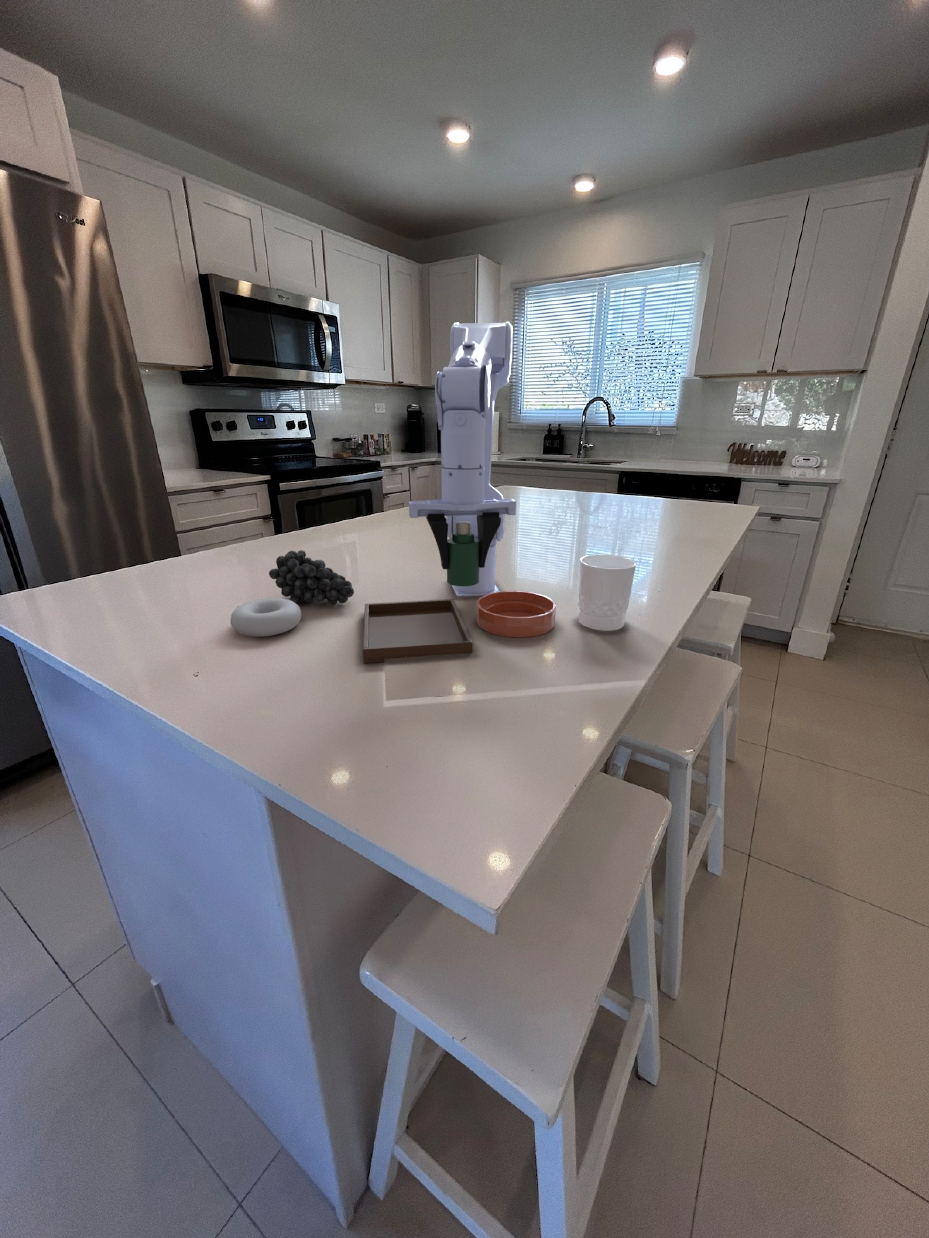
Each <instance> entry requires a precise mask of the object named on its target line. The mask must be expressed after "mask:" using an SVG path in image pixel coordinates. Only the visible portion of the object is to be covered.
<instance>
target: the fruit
mask: <svg viewBox="0 0 929 1238" xmlns="http://www.w3.org/2000/svg"><path fill="white" fill-rule="evenodd" d="M275 563H276V567H275V568H271V569H270V570H269V571H268V575H269V577H270V578H271V579H272V580H275V581H274V583H275V585H276V587H278V588H279V589H281V590H280V591H281V592H280V594H281V595H282V596H283V597H285V598H289V597H290V599H289V600H290V601H293V602H294V603H296V604H297V605H298V604H301V603H302V601H304V602H305V603H312V602H313V600H316V601H317V602H323V601H325V600H326V602H327V603H328V605H330V606H336V605H337V604H338V603H339V604H345V603H347V602H348V601H349V599H350V598H351V597H353V596H354V595H355V590H354V589H355V588H353V584H352V582H351V581H349V580H347V579H346V577H345V576H343V575H341V574H339V573H338V572H334V570H333V569H332V568H331V567H326V563H325V560H322V559H315V560H312V558H311V557H308V556H307V553H306V551H304V550H298V551H296V550H289V551H288V552H287V553H286V554H285V555H279V556H278V557H277V558H276V559H275Z"/></svg>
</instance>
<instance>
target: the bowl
mask: <svg viewBox="0 0 929 1238" xmlns="http://www.w3.org/2000/svg"><path fill="white" fill-rule="evenodd" d="M499 591H500V592H494V593H489V594H487V595H481V597H479V598H478V599H477V601H476V607H475V616H476V617H475V622H476V624H477V626H478V627H479V628H480V629H481V630H483V631H485V632H487V633H490V634H493V635H496V636H502V637H506V638H508V637H509V638H530V637H531V638H532V637H537V636H541V635H546V634H547V633H549V632H551V631H552V630H553V628H554V627H555V625H556V624H555V623H556V612H557V604H556V602H555V601H554V600H553V599H552V598H550V597H548V596H546V595H543V594H540V593H537V592H531V591H526V590H525V591H523V590H499Z"/></svg>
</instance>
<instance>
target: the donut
mask: <svg viewBox="0 0 929 1238" xmlns="http://www.w3.org/2000/svg"><path fill="white" fill-rule="evenodd" d="M301 620H302V610H301V607H300V606H299V605H298V604H296V603H294V602H293V601H291V600H290V599H287V598H280V597H267V598H259V599H254V600H250V601H248V602H245V603H243V604H241V605H238V606H237V607H236V608H235V609H234V610H233V611H232V613H231V615H230V625H231V627H232V628H233V629H234V630H235V631H236V632H237V633H239V634H241V635H243V636H247V637H255V638H261V637H263V638H265V637H271V636H276V635H280V634H283V633H286V632H288V631H290V630H292V629H294V628H296V627H297V625H298V624H299V623H300V621H301Z"/></svg>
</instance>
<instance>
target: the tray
mask: <svg viewBox="0 0 929 1238" xmlns="http://www.w3.org/2000/svg"><path fill="white" fill-rule="evenodd" d="M363 614H364V616H363V637H362V639H363V640H362V655H363V664H374V663H385V660H389V659H403V658H416V657H417V658H418V657H419V658H420V657H431V656H432V657H434V656H447V655H448V656H449V655H461V654H472V653H473V645H474V643H473V640H472V638H471V636H470V633H469V631H468V628H467V627H466V624H465V622H464V620H463V617H462V614H460V611H459V608H458V607H457V604H456V601H455V599H454V598H448V599H447V598H446V599H445V598H444V599H430V600H429V599H427V600H426V599H425V600H408V601H389V602H370V603H364V613H363Z"/></svg>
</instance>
